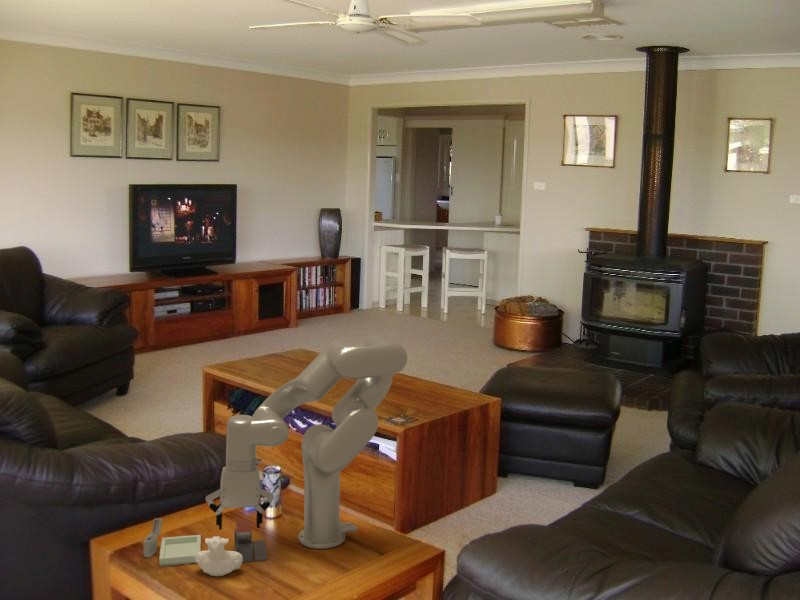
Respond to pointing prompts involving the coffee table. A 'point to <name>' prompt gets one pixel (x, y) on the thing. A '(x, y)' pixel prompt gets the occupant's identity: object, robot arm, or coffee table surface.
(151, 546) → the lighter
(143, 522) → the coffee table surface
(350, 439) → the robot arm
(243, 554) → the bracket
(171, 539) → the tray
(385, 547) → the coffee table surface
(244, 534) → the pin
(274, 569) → the coffee table surface
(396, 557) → the coffee table surface
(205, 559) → the white rounded irregular piece
